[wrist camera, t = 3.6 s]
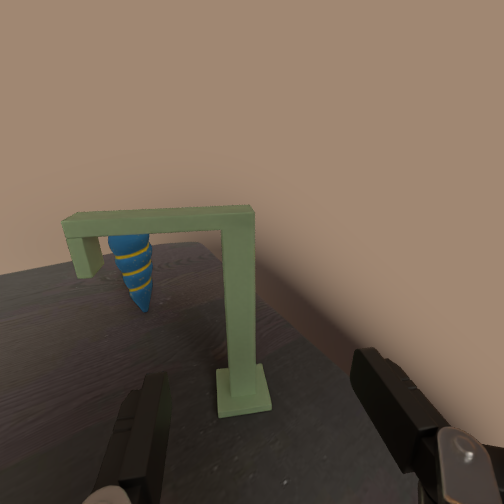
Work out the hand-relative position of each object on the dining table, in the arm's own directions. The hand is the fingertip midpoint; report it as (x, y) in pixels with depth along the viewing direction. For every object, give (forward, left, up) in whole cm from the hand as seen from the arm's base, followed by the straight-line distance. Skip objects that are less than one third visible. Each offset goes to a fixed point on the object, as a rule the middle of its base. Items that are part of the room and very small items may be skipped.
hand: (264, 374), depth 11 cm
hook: (+11, -5, -14) cm, 19 cm away
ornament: (+27, -11, -14) cm, 33 cm away
